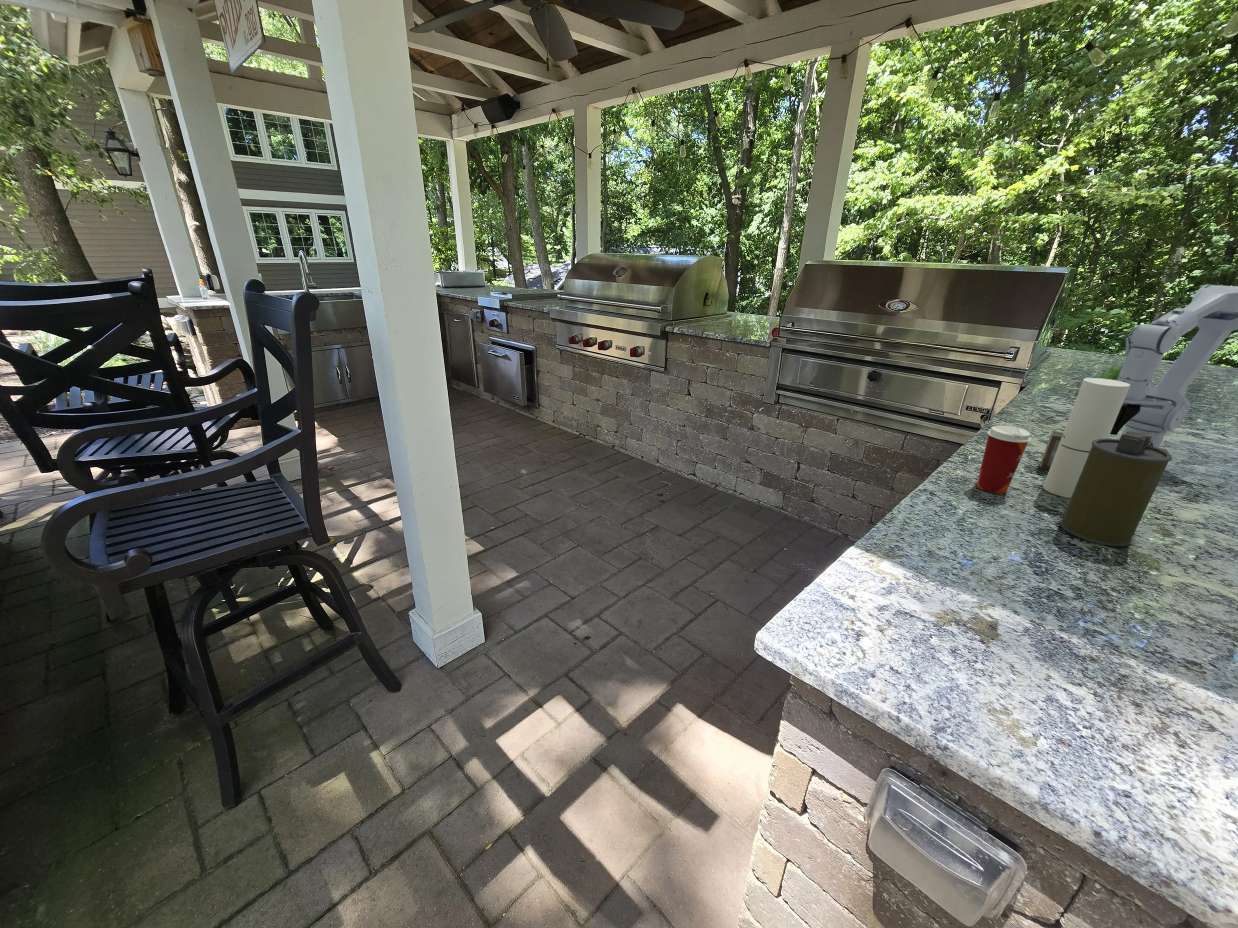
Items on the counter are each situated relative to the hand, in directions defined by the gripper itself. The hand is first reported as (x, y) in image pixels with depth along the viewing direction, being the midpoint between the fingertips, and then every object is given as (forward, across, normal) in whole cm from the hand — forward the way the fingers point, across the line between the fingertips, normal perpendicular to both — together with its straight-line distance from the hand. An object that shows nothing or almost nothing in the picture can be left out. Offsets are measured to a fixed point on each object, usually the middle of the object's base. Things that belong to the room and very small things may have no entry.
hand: (1112, 433), depth 121 cm
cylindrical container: (+9, -8, -22) cm, 25 cm away
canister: (+9, -3, -41) cm, 42 cm away
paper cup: (+9, -20, -30) cm, 38 cm away
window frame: (+9, -2, -8) cm, 12 cm away
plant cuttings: (+10, +6, +46) cm, 47 cm away
